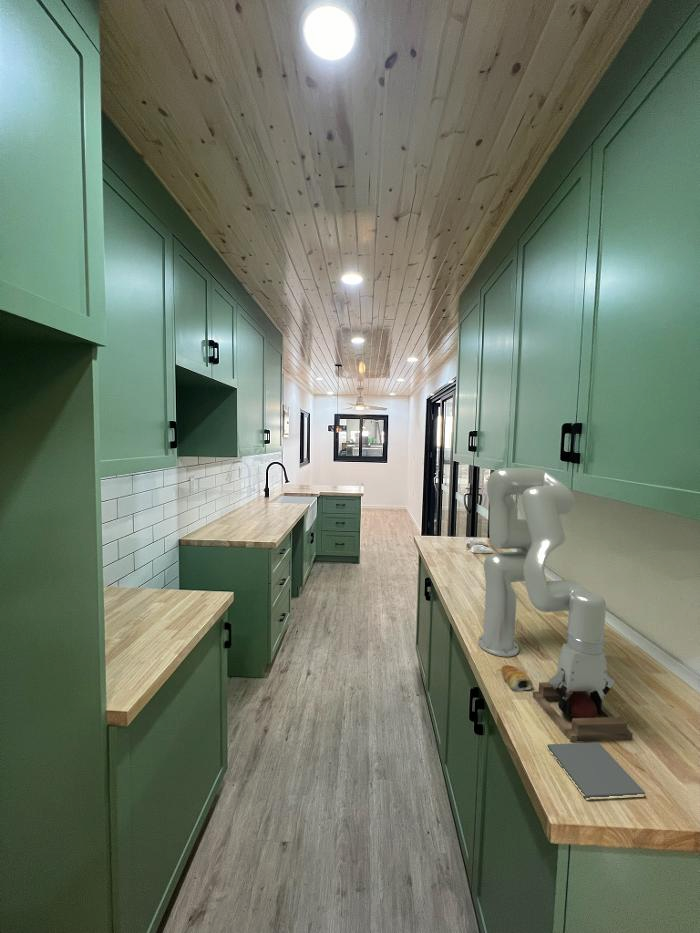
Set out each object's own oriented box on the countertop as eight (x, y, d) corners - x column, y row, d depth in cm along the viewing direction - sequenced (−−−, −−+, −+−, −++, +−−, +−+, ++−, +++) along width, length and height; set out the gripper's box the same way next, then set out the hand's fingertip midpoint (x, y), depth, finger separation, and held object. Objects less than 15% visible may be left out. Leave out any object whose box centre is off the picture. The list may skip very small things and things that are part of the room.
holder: (532, 696, 99) (533, 682, 99) (585, 695, 101) (586, 681, 100) (570, 742, 85) (571, 725, 84) (632, 739, 86) (633, 723, 86)
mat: (547, 748, 83) (547, 744, 82) (598, 746, 84) (598, 742, 83) (585, 800, 71) (586, 795, 71) (644, 797, 72) (645, 792, 72)
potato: (590, 709, 96) (592, 686, 95) (601, 734, 87) (603, 710, 87) (557, 701, 98) (559, 679, 98) (564, 725, 90) (566, 701, 89)
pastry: (494, 671, 110) (495, 659, 110) (516, 670, 111) (517, 658, 111) (512, 693, 101) (513, 679, 101) (535, 691, 102) (536, 678, 102)
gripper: (605, 634, 96) (601, 700, 97) (541, 635, 94) (537, 702, 95) (630, 650, 88) (624, 721, 90) (560, 652, 87) (555, 724, 88)
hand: (579, 711), depth 92 cm, fingers closed on potato, 7 cm apart
